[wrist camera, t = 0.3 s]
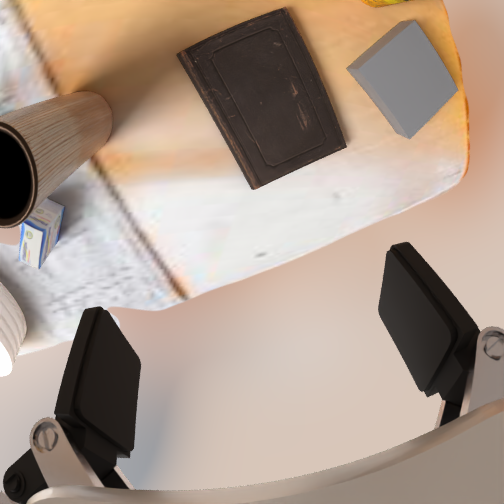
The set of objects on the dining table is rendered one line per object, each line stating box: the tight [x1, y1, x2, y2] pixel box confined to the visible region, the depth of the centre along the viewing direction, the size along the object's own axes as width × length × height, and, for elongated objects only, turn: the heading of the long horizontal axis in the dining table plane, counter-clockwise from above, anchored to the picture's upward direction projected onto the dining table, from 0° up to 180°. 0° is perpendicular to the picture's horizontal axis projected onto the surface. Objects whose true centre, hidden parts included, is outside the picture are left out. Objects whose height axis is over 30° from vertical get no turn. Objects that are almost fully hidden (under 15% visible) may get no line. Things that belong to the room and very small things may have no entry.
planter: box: [0, 91, 113, 228], centre depth 27 cm, size 10×10×23 cm
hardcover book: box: [177, 7, 347, 190], centre depth 38 cm, size 16×23×2 cm
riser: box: [346, 20, 458, 139], centre depth 36 cm, size 14×14×4 cm
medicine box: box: [19, 198, 65, 269], centre depth 40 cm, size 8×4×9 cm, turn 150°
